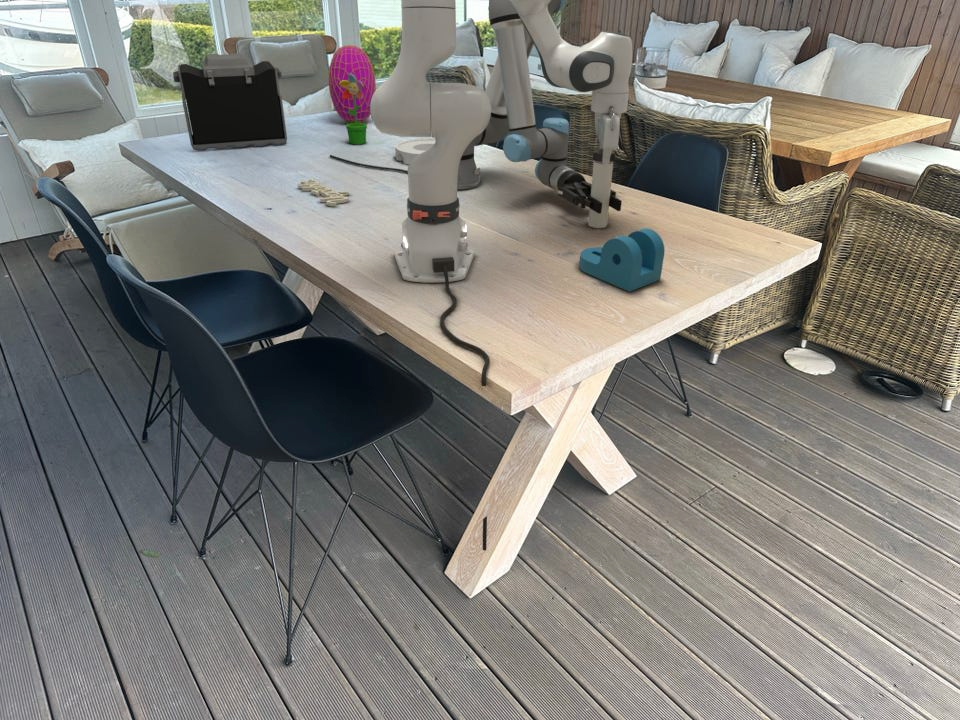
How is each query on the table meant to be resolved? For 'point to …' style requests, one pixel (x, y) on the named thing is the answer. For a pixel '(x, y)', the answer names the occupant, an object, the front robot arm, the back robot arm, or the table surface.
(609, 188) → the beige long cylinder
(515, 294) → the table surface
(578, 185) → the back robot arm
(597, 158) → the lid
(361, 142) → the potted flower
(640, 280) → the camera mount
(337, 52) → the decorative egg
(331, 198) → the decorative sign
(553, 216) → the table surface
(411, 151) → the ashtray
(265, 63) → the electronic device
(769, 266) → the table surface
